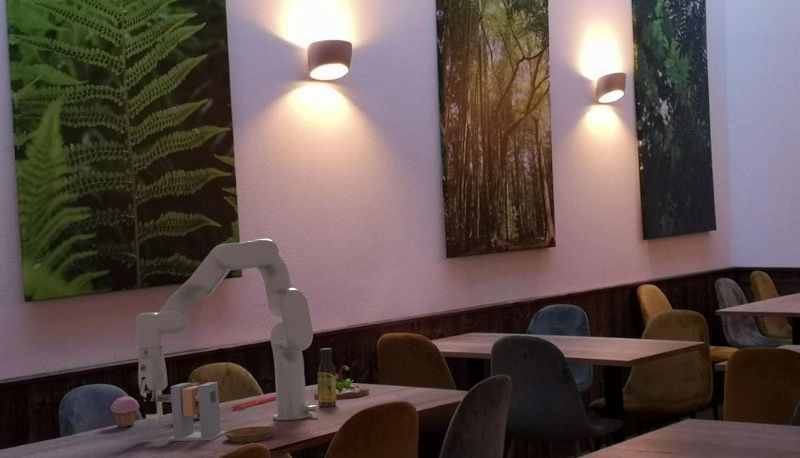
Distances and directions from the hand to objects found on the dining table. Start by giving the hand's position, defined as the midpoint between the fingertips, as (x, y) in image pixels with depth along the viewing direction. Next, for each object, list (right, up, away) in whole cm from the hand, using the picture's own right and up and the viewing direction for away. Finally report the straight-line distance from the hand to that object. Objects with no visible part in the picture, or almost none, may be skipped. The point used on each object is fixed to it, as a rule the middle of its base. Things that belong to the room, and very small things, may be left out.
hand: (154, 412), depth 331 cm
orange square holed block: (+13, 0, -4) cm, 14 cm away
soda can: (+5, -8, +33) cm, 34 cm away
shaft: (+8, -1, -2) cm, 9 cm away
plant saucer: (+31, -6, -12) cm, 34 cm away
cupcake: (-15, -9, +26) cm, 32 cm away
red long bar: (+23, -8, +59) cm, 63 cm away
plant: (+54, -6, +68) cm, 87 cm away
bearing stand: (+14, -7, -4) cm, 16 cm away
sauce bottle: (+50, -5, +44) cm, 67 cm away
